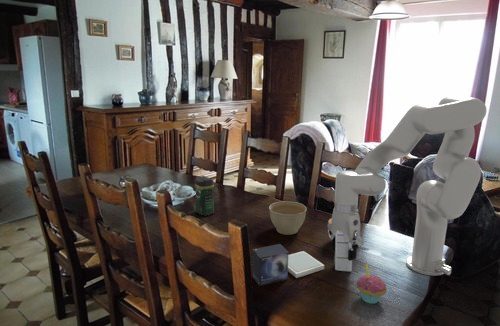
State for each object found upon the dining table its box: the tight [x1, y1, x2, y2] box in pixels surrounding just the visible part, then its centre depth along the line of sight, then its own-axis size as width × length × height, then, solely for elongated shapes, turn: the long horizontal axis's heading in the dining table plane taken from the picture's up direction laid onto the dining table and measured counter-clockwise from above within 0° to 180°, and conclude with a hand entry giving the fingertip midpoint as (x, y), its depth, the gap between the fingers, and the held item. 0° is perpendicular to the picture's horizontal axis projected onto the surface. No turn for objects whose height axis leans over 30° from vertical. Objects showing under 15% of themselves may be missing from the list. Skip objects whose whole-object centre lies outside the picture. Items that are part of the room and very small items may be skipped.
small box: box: [251, 243, 290, 287], centre depth 116 cm, size 11×6×10 cm, turn 114°
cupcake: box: [356, 261, 387, 305], centre depth 105 cm, size 9×8×12 cm
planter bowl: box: [268, 201, 307, 236], centre depth 153 cm, size 16×16×11 cm
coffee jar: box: [194, 175, 215, 216], centre depth 173 cm, size 10×8×19 cm
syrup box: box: [334, 230, 354, 272], centre depth 122 cm, size 6×6×14 cm
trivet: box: [288, 250, 325, 279], centre depth 125 cm, size 12×12×2 cm
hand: (343, 254), depth 123 cm, fingers closed on syrup box, 7 cm apart
